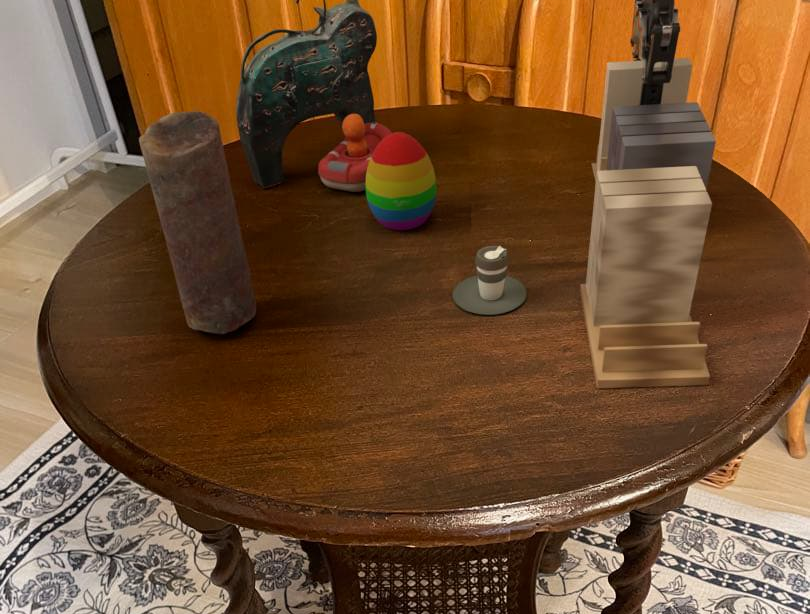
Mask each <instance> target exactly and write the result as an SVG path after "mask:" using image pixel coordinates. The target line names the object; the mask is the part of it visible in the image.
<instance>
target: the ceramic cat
mask: <svg viewBox="0 0 810 614" xmlns="http://www.w3.org/2000/svg"><path fill="white" fill-rule="evenodd" d="M322 2H323V7H322V6H313V10H314V12H315V13H317V15H319V16H318V22H317V23H316V24H317V26H316V27H314V28H311V29H307V30H291V29H286V28H280V29H279V28H278V29H277V28H275V29H272V30H270V31H268V32H266V33H264V34H262V35H260V36H259V37H257V38H255V40H253V41H252V42H251V43H249V45H248V46H247V48H246V50H245V51H244V52H243V57H242V60H241V66H240V80H239V85H238V91H237V97H236V101H235V117H236V119H235V120H236V126H237V129H238V136H239V140H240V143H241V147H242V148H243V151H244V154H245V156H246V159H247V162H248V164H249V168H250V171H251V175H252V178H253V181H254V183H256V182H257V183H258V184H260V185H261V186H262V187H263V188H262V187H261V186H260V185H259V186H260V187H261V188H262V189H264V187H267V186H271V185H274V184H277V183H279V182H283V181H284V182H285V175H284V169H283V148H284V145H285V143H286V140H287V138H288V137H289V135H290V133H291V132H293V130H294V129H295V128H296V127H297V126H298V125H300V124H301V123H303V122H305V121H308V120H309V119H313V118H317V117H322V116H329V115H334V116H335V118H336V119H337V122H338V123H339V126H340V128H341V129H342V124H343V121H344V119H345V118H346V117H347V116H348V115H350V114H358V115H360V116H361V118H362V119H363V122H364V124H366V123H376V117H375V100H374V93H373V89H372V84H371V83H372V82H371V78H370V73H369V70H368V66H369V63H370V60H371V58H372V56H373V54H374V53H375V50H376V48H377V43H378V33H377V29H376V23H375V20H374V18H373V16H372V15H371V14H370V13H369V12H368V11H367V10H366V9H364V8H363V7H362V6H361V4H360V3H359V0H345V2H342V3H339V4H335V5H334V6H332V7H329V8H328V9H327V3H326V0H322ZM295 3H296V4H297V5H299V3H300V0H295ZM275 34H276V35H277V34H285V35H283V36H281V37H280V38H278V39H276V40H274V41H273V42H272V43H269V44H266V45H265V46H263V47H261V48H260V49H258V51H256V52H255V54H254V56H253V57H252V58H251V59H250V60H249V61H248V62H247V60H248V57H249V55H250V53H251V52H252V50H253V48H254V47H255V46H256V45H258V44H259V43H260V42H262V41H264V40H266V39H267V38H268V37H270V36H273V35H275ZM246 62H247V64H246ZM343 136H344V139H345V138H346V136H345V135H344V134H343ZM284 182H283V183H284ZM257 183H256V184H257ZM258 184H257V185H258Z"/></svg>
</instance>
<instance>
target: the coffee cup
mask: <svg viewBox="0 0 810 614" xmlns="http://www.w3.org/2000/svg"><path fill="white" fill-rule="evenodd" d="M509 258H510V257H509V254H508V250H507V248H504V247H502V246H501V245H499V246H498V245H487V246H484V247H481V248H479V250H477V252H476V255H475V258H474V262H475V266H476V275H473V276H470V277H467V278H465V279H464V280H461V281H460V282H458V283H457V284H456V286H455V287H454V289H453V291H452V295H451V296H452V300H453V301H454V303H455V304H456V305H457V306H458V307H459V308H460V309H461V310H464V311H466V312H468V313H472V314H475V315H482V316H496V315H501V314H506V313H509V312H512V311H514V310H517V309H518V308H519V307H520V306H522V305H523V304H524V303H525V301H526V299H527V296H528V292H527V288H526V286H525V285H524V283H522V282H521V281H520V280H519V279H517V278H514V277H512V276H509V275H508V265H509V264H510V259H509Z"/></svg>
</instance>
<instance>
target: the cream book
mask: <svg viewBox="0 0 810 614" xmlns="http://www.w3.org/2000/svg"><path fill="white" fill-rule="evenodd" d="M653 71H661V62H657V63H655V65H654V70H653ZM692 71H693V63H692V61H691V59H690V57H681V58H680V57H679V58H674V63H673V69H672V78H671V80H670V83H664V85H663V92H662V99H661V104H673V103H687V102H688V101H687V100H688V94H689V90H690V89H689V88H690V83H691V76H692ZM642 73H643V61H634V60H629V61H627V60H626V61H609V62H607V63H606V71H605V78H604V79H605V81H604V82H605V83H604V90H603V101H602V111H601V123H600V131H599V142H598V145H599V150H598V149H597V150H598V161H597V171H600V165H601V157H608V148H609V139H610V130H611V120H612V111H613V107H619V106H637V105H639V104H640V96H641V88H642V80H641V77H642Z"/></svg>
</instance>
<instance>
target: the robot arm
mask: <svg viewBox="0 0 810 614" xmlns="http://www.w3.org/2000/svg"><path fill="white" fill-rule="evenodd" d="M675 4H676V2H675V0H634V6H633V16H632V28H631V38H630V41H629V42H630V43H629V44H630V46H631V48H632V50H631V56H632V59H633V61H643V73H642V77H641V80H642V88H641V96H640V104H639V105H655V104H661V99H662V92H663V85H664V83H670V80H671V78H672V69H673V63H674V59H676V52H677V46H678V41H679V35H680V33H681V24H680V22H679V8H678V7H677V8H676V7H675ZM657 62H661V71H653V70H654V65H655V63H657Z"/></svg>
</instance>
